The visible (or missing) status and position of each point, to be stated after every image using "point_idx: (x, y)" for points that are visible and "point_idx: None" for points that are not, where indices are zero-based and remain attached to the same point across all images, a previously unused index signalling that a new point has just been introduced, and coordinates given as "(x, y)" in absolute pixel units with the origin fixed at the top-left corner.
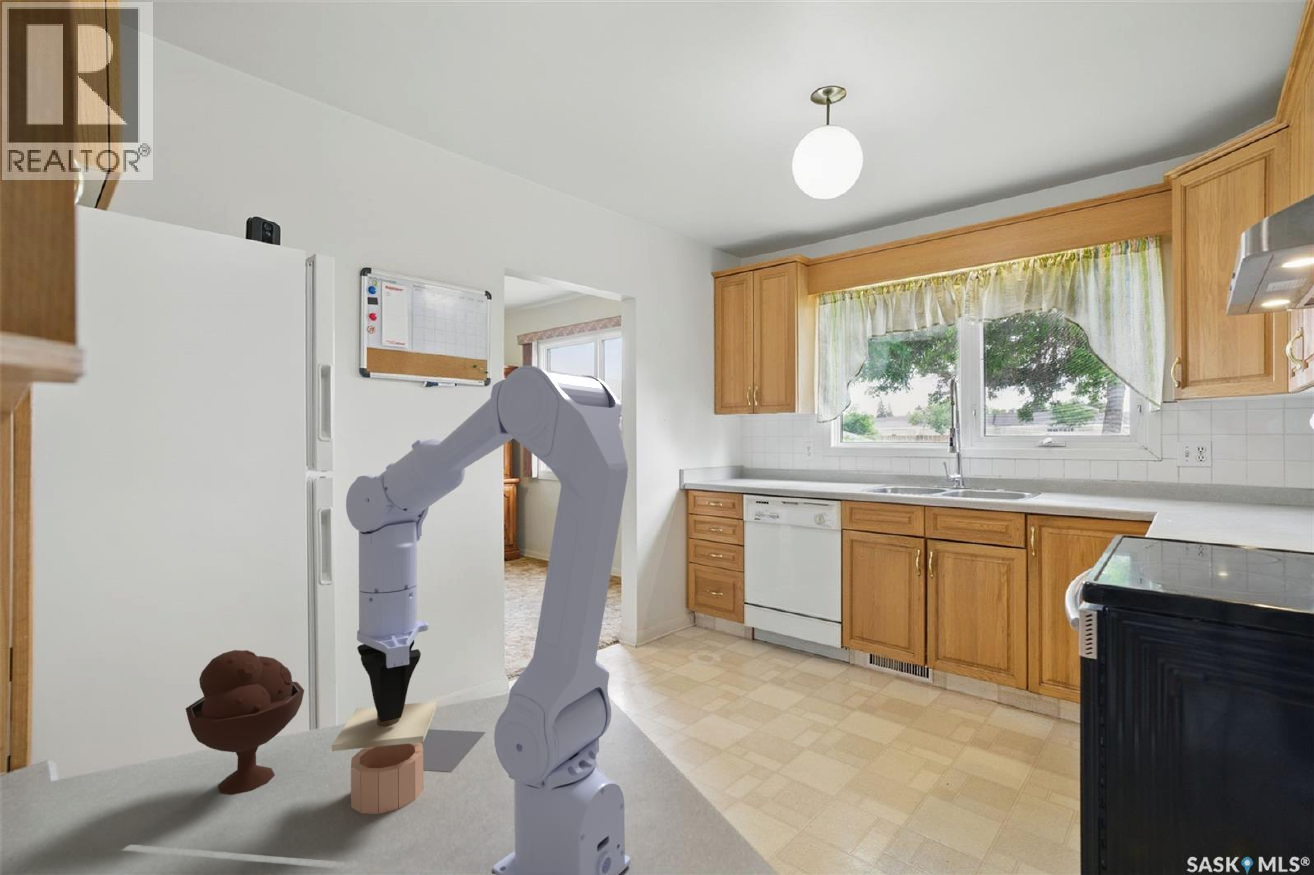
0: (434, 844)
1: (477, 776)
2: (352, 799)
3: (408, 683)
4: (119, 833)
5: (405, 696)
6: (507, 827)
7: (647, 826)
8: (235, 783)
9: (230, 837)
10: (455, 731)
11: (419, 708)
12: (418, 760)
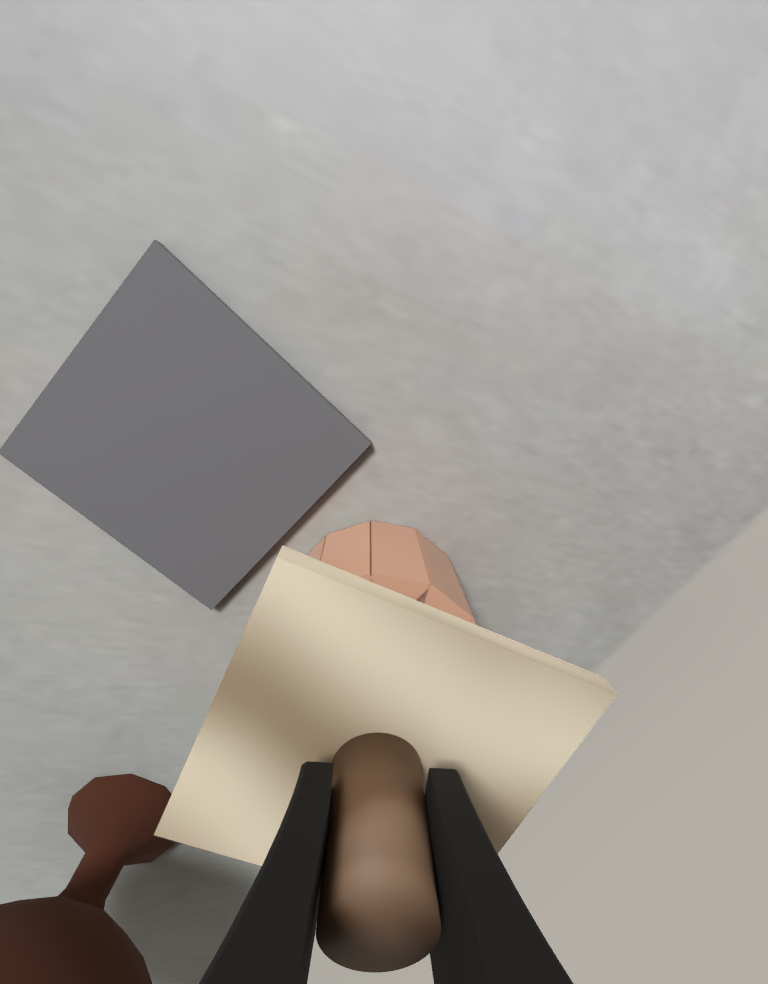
0: (631, 561)
1: (424, 378)
2: None
3: (567, 980)
4: (208, 948)
5: (504, 871)
6: (706, 405)
7: None
8: (149, 854)
9: None
10: (90, 338)
11: (319, 646)
12: (454, 597)
